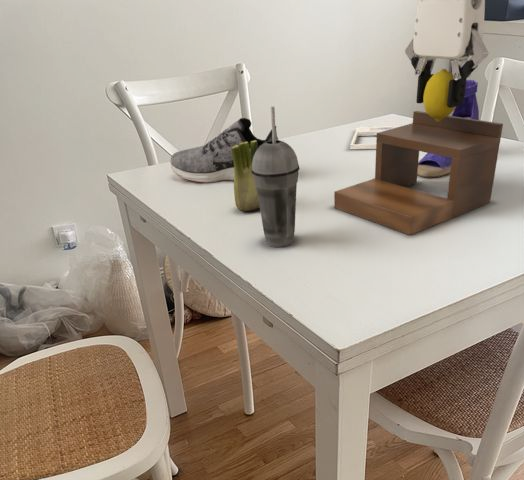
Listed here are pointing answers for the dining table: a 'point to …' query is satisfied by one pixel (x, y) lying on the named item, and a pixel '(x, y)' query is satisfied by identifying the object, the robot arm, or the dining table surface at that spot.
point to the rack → (406, 167)
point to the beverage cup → (276, 188)
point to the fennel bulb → (244, 176)
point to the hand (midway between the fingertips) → (439, 102)
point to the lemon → (438, 95)
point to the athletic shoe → (215, 155)
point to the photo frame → (368, 132)
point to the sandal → (469, 109)
